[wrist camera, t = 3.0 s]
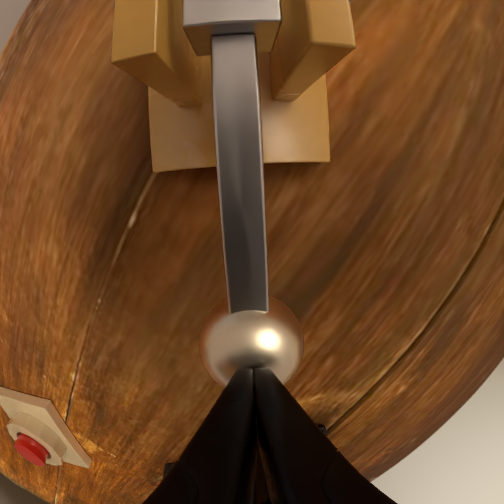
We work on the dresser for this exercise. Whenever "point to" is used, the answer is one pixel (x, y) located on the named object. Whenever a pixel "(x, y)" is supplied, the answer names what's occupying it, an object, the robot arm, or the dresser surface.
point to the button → (31, 449)
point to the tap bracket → (200, 82)
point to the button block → (42, 427)
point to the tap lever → (241, 192)
